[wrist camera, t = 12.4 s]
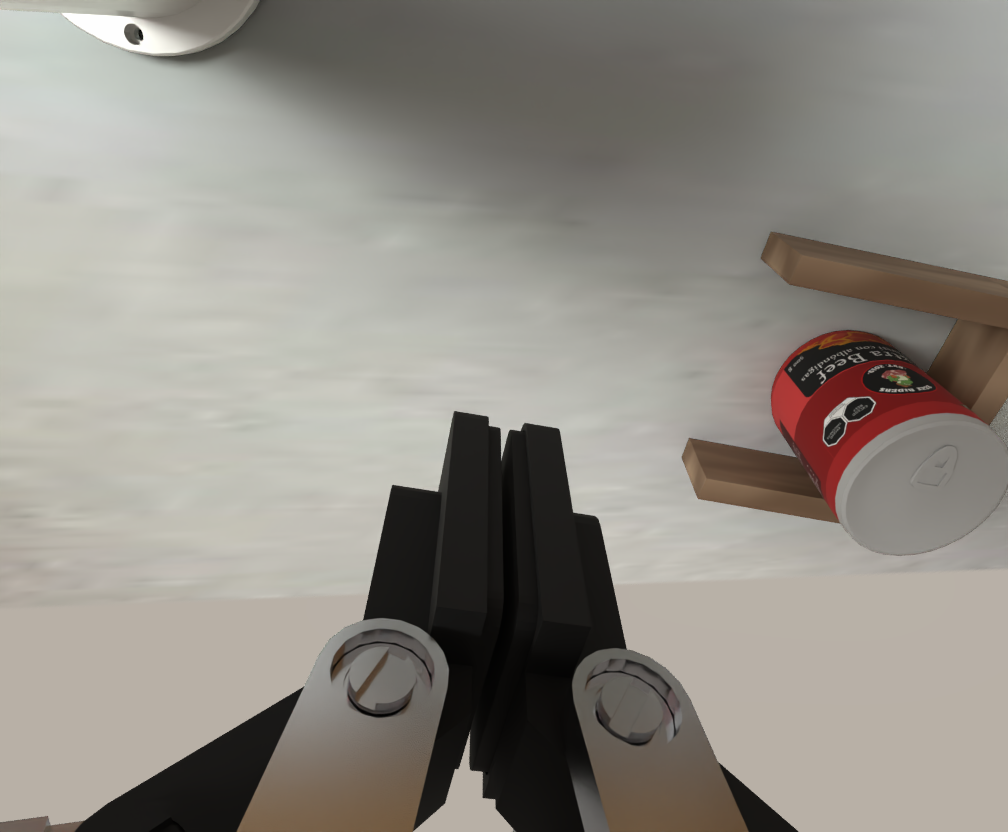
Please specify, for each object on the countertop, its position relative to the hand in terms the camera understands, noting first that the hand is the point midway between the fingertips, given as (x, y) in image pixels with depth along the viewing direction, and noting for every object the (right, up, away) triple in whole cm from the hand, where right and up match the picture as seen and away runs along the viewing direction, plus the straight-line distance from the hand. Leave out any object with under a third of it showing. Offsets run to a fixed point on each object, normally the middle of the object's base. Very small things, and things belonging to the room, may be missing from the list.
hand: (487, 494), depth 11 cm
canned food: (+20, +3, +30) cm, 36 cm away
